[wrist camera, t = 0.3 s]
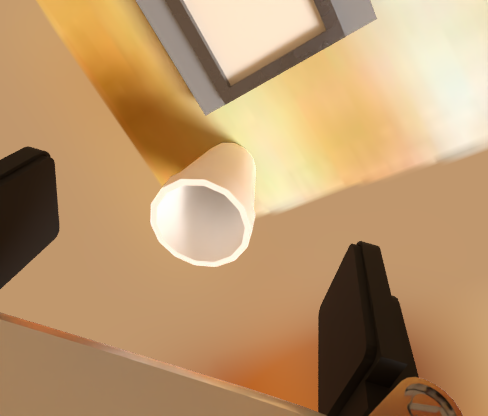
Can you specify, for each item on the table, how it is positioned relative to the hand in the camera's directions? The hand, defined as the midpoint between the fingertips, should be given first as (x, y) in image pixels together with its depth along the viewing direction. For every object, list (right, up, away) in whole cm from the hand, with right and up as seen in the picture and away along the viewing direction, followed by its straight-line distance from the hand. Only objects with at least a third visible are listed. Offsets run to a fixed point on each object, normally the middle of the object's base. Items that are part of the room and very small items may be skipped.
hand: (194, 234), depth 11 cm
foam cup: (0, +6, +32) cm, 33 cm away
